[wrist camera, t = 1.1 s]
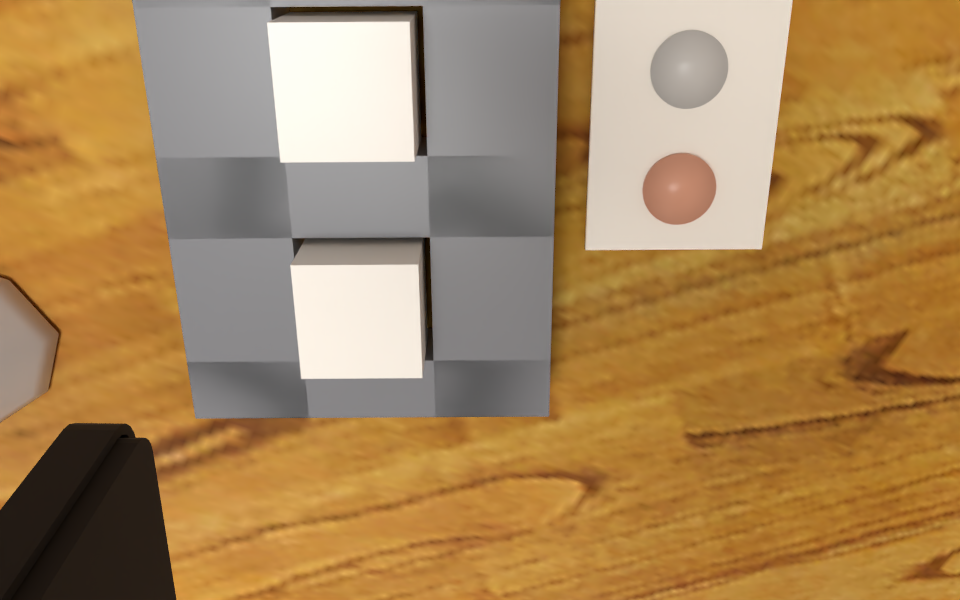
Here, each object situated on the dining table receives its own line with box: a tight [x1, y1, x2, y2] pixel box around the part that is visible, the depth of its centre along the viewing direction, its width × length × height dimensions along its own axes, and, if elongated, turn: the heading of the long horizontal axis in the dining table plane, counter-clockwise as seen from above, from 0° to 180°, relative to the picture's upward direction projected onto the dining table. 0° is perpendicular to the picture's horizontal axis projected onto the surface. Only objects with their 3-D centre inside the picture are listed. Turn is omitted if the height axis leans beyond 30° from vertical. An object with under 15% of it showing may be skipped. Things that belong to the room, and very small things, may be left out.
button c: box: [290, 237, 428, 379], centre depth 33 cm, size 4×4×4 cm
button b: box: [267, 11, 421, 163], centre depth 30 cm, size 4×4×4 cm
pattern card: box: [585, 0, 793, 250], centre depth 33 cm, size 7×14×1 cm, turn 0°
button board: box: [132, 0, 560, 418], centre depth 31 cm, size 14×26×3 cm, turn 0°
